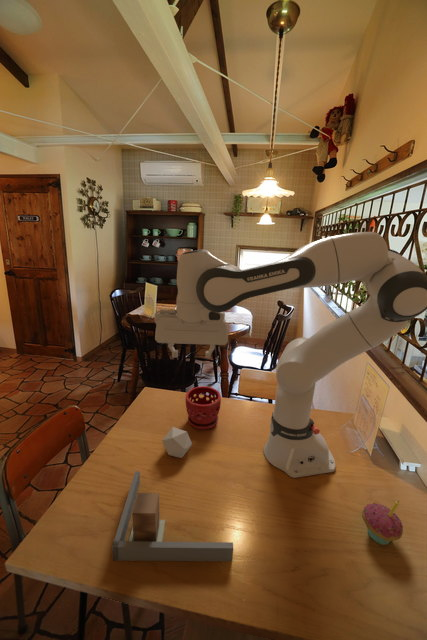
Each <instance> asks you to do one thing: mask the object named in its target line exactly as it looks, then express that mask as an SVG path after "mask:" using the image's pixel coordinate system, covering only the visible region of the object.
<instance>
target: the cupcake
mask: <svg viewBox="0 0 427 640" xmlns="http://www.w3.org/2000/svg"><path fill="white" fill-rule="evenodd" d="M400 501H401V500H400V499H399V500H398V501H395V502H394V504H393V506H392V508H391V509H390V508H388V507H387V506H386V505H383V504H379V503H374V502H373V503H368V504H366V505H365V506H364V507H363V509H362V510H361V518H362V520H363V523H364V524H365V527H366V528H367V532H368V535H369V537H370V538H371V539H372V540H373V541H374V542H376V543H377V544H379V545H383V546H384V545H389V543H391V541H392V542H394V541H399V540H401V538H402V537H403V534H404V533H403V532H404V527H403V523H402V520H401V519H400V518H399V516H398V515H397V514H396V513H395V511H396V509H397V508H398V506H399V502H400Z"/></svg>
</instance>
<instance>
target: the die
mask: <svg viewBox="0 0 427 640" xmlns="http://www.w3.org/2000/svg"><path fill="white" fill-rule="evenodd" d="M161 442H162V443H163V446H164V448H165V450H166V452H167V454H168V455H169V456H172V457H176V458H179V459H183V457H184V456H186V453H187V452H188V451H189V449H190V448H191V446H192V445H193V442H192V440H191V438H190V436H189V433H188V431H187V430H183V429H181V428H178V427H174V426H172V427H171V428H170V430H169V431H168V433H167V434H165V436H164V437H163V438H162V439H161Z"/></svg>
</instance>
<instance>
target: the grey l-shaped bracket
mask: <svg viewBox="0 0 427 640" xmlns="http://www.w3.org/2000/svg"><path fill="white" fill-rule="evenodd" d="M140 476H141V474H140V471H137V470H134V474H133V478H132V481H131V484H130V487H129V490H128V494H127V498H126V499H125V504H124V507H123V510H122V514H121V516H120V521H119V524H118V526H117V529H116V533H115V536H114V539H113V544H112V546H111V551H112V561H132V562H133V561H134V562H135V561H136V562H139V561H143V562H144V561H145V562H146V561H147V562H150V561H151V562H153V561H154V562H156V561H157V562H159V561H161V562H167V561H168V562H233V555H234V542H230V541H229V542H226V541H224V542H222V541H221V542H219V541H217V542H215V541H213V542H211V541H208V542H207V541H163V539H164V532H165V523H166V519H159V524H160V525H159V531H158V537H157V542H144V541H134V540H133V526H132V527H131V531H130V532H131V533H130V536H129V539H128V540H127V541H125V539H126V534H127V531H128V528H129V525H130V520H131V517H132V512H133V508H134V504H135V501H136V497H137V493H138V492H139V487H140V484H141V477H140Z"/></svg>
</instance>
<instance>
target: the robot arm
mask: <svg viewBox="0 0 427 640" xmlns="http://www.w3.org/2000/svg"><path fill="white" fill-rule="evenodd" d="M353 281H354V282H361V283H362V285H363V287H364V288H365V290H366V292H367V293H368V295H369V296H368V298H367V300H366V301H365V302H363V303H362V305H360V306H358V307H355V308H354V309H352V310H350V311H348V312H346V313H345V314H343V315H341V316H340V317H338V318H337V319H335V320H333V321H331V322H329V323H328V324H326V325H324V326H323V327H321V328H320V329H319V330H318V331H316V332H315V333H314V334H313V335H311V336H310V337H308V338H307V337H305V336H304V337H298V338H295V339H293V340H291V341H289V342H288V343H287V344H286V346H285V347H284V350H283V352H282V354H281V356H280V357H279V360H278V362H277V364H276V368H275V369H276V371H275V377H276V382H277V387H276V391H275V398H274V407H273V412H272V414H271V419H270V424H269V429H270V430H269V436H268V438H267V442H266V443H265V445H264V447H263V453H264V456H265V458H266V460H267V461H268V462H269V463H270V464H271V465H272V466H274V467H276V468H277V469H279V470H281V471H282V472H284V473H285V474H286V475H288V476H289V477H290V478H295V479H296V478H301V477H302V478H303V477H309V476H314V475H322V474H326V473H327V474H328V473H334V472H335V471H336V461H335V458H334V456H333V454H332V452H331V451H330V449H329V446H328V443H327V441H326V440H325V438H324V436H323V435H322V434H321V430H320V429H319V427H318V425H315V422H314V420H313V419H312V418H311V412H312V407H313V406H312V405H313V401H314V395H315V390H316V389H315V388H316V385H317V384H316V383H317V382H319V381H320V380H322V379H323V378H325V377H327V376H328V375H329V374H330V373H332V372H333V371H335V370H336V369H337V368H338V367H340V366H342V365H343V364H344V363H346V362H348V361H349V360H352V359H354V358H356V357H357V356H360V355H362V354H363V353H366V352H368V351H369V350H371V349H373V348H376V347H377V346H379V345H381V344H383V343H384V342H386V341H388V340H390V339H392V338H393V337H394V336H395V335H396V334H398V333H400V332H401V331H402V330H403V329H405V328H406V326H407V325H408V323H409V321H410V320H412V319H414V318H416V317H418V316H419V315H421V314H422V313H424V312H426V311H427V274H426V273H424V271H423V270H422V269H421V268H420V267H419V266H418V265H417V264H416V263H415V262H414V261H412V260H410V259H408V258H406V257H405V256H403V255H402V254H401V253H400V252H398V251H396V250H394V249H391V248H388V244H387V242H386V240H385V239H384V237H383V235H381V234H379V232H378V233H377V232H375V231H361V232H360V231H359V232H349V233H343V234H338V235H332V236H329V237H324V238H321V239H318V240H314V241H311V242H309V243H307V244H305V245H302V246H301V247H299V248H297V249H296V250H295V251H294V252H291V254H290V255H288V256H286V257H284V258H283V259H280V260H277V261H275V262H272V263H271V262H270V263H267V264H263V265H258V266H255V267H251V268H250V267H249V268H246V269H241V268H239V266H236V265H234V264H232V263H228V262H226V261H223V260H221V259H219V258H218V257H216V256H215V255H213V254H212V253H211V252H210V251H209V250H207V249H197V250H196V249H195V250H188V251H185V252H183V253H181V254H180V255H179V258H178V261H177V269H176V286H177V295H176V309H162V308H161V309H159V310H157V311H156V312H154V315H153V316H154V317H153V318H154V323H155V325H156V327H155V333H154V335H155V336H154V340H155V341H156V343H158V344H167V347H168V349H169V350H170V352H171V358H178V356H179V350H178V349H175V347H174V345H175V344H182V345H183V344H186V345H208V346H209V349H208V350H205V357H204V358H205V359H207V360H208V359H211V358H212V357H211V355H212V354H213V352H214V350H215V349H216V346H225V345H227V344H228V342H229V331H228V324H227V320H226V319H225V318H226V313H225V312H227V311H229V310H232V308H234V307H235V306H237V305H238V304H240V303H241V302H243V301H244V300H246V299H250V298H254V297H259V296H264V295H268V294H271V293H272V294H273V293H276V292H280V291H285V290H286V291H287V290H291V289H304V288H305V289H306V288H320V287H328V286H335V285H339V284H343V283H344V284H345V283H348V282H353Z"/></svg>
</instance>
